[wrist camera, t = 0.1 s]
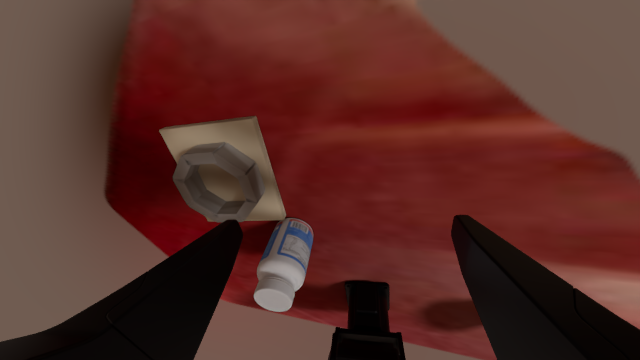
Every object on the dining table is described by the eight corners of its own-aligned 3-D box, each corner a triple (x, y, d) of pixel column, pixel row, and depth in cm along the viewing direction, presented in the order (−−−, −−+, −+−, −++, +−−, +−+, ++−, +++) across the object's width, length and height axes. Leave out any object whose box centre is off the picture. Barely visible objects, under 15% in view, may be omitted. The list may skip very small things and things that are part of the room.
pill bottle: (285, 247, 33) (260, 316, 25) (269, 219, 31) (235, 286, 22) (320, 242, 31) (305, 315, 23) (306, 213, 29) (284, 282, 21)
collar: (286, 214, 30) (277, 234, 27) (212, 216, 32) (197, 234, 29) (255, 115, 23) (240, 127, 20) (165, 127, 25) (139, 139, 22)
